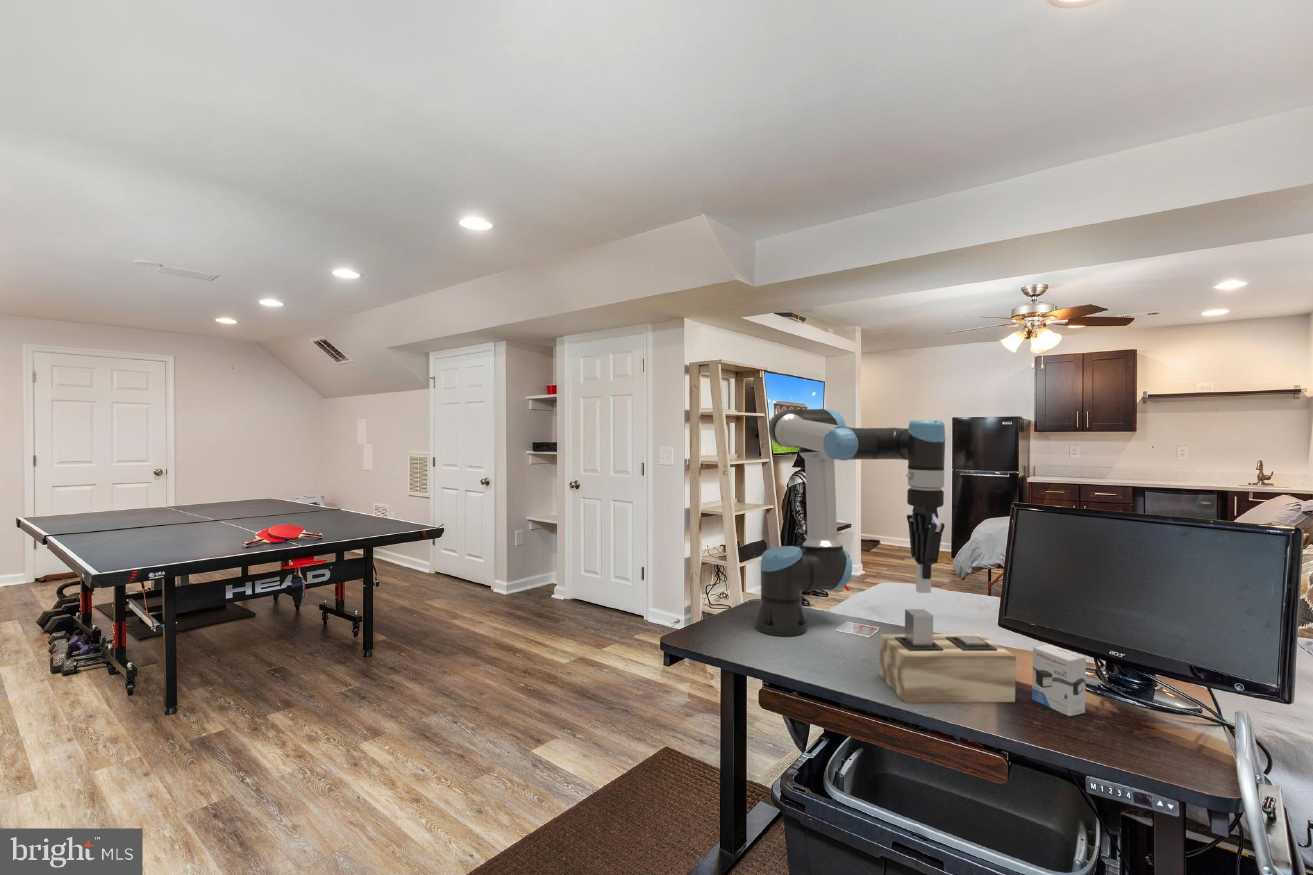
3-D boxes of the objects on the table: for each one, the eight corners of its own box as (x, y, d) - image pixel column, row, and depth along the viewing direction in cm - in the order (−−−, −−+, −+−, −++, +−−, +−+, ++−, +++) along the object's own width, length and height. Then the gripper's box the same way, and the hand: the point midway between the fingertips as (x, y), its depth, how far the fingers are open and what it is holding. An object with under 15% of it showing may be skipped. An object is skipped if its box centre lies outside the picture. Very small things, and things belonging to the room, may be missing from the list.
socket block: (879, 675, 144) (880, 632, 144) (979, 675, 145) (979, 632, 144) (905, 702, 130) (905, 654, 130) (1014, 701, 131) (1015, 654, 131)
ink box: (1030, 699, 132) (1031, 646, 132) (1046, 696, 134) (1047, 643, 134) (1069, 717, 124) (1070, 660, 124) (1086, 713, 126) (1087, 657, 126)
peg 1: (904, 649, 139) (905, 609, 139) (923, 649, 139) (924, 609, 139) (913, 657, 135) (913, 615, 135) (932, 657, 135) (933, 615, 135)
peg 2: (955, 676, 140) (956, 635, 140) (974, 676, 140) (975, 635, 140) (965, 684, 135) (966, 642, 135) (985, 684, 135) (985, 642, 135)
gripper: (896, 485, 143) (894, 584, 144) (923, 491, 130) (920, 600, 131) (927, 485, 143) (925, 583, 144) (957, 491, 130) (954, 600, 131)
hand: (923, 591), depth 137 cm, fingers closed
